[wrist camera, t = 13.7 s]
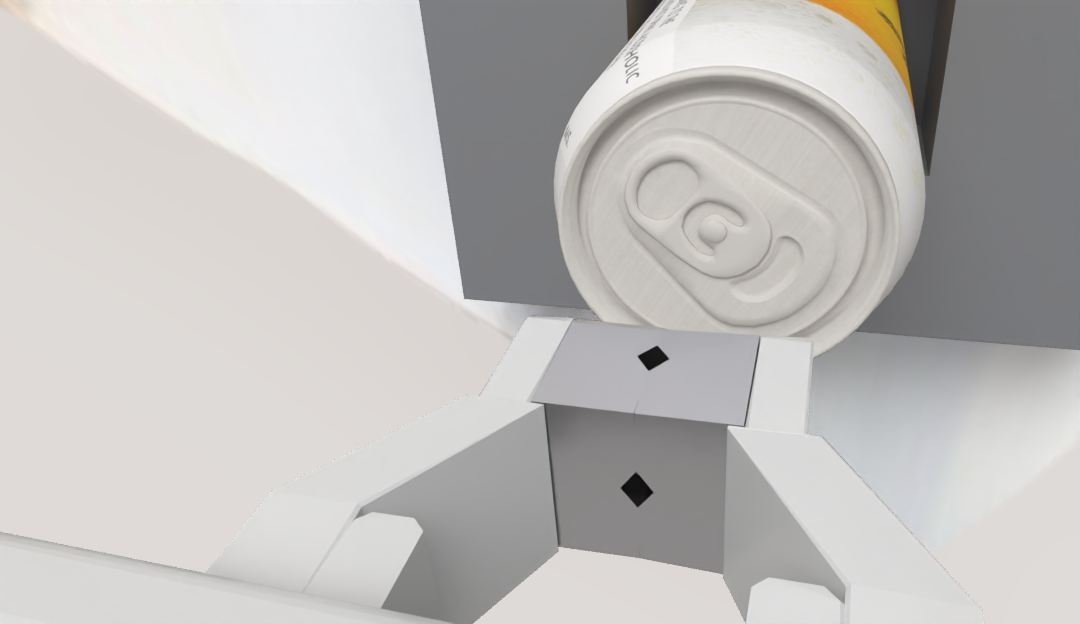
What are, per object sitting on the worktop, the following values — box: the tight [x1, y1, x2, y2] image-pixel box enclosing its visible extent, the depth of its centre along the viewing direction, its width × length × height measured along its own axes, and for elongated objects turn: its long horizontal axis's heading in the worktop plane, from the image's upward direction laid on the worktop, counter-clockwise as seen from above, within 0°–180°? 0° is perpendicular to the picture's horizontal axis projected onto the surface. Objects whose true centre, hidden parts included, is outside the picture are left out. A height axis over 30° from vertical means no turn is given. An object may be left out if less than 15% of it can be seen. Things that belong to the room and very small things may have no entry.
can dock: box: [419, 0, 1080, 350], centre depth 24 cm, size 20×18×5 cm
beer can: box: [554, 0, 926, 359], centre depth 20 cm, size 6×6×15 cm
